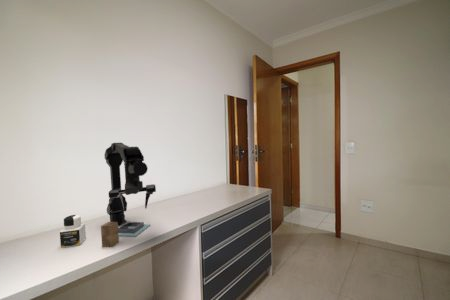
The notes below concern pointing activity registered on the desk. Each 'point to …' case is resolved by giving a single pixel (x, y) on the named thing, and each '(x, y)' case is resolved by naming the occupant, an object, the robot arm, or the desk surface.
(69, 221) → the medicine bottle
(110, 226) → the walnut peg
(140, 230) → the socket holder
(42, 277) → the desk surface
